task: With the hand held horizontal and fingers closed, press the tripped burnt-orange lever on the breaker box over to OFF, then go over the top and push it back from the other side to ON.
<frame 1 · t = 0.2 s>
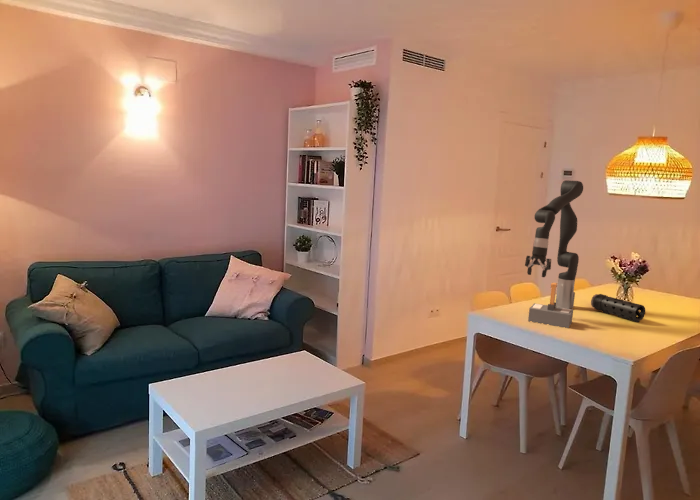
hand: (536, 275, 284), 22 cm above the table, tool pointing down, fingers open, 8 cm apart
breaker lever: (552, 295, 274), point 14 cm above the table, hinge at 0.0°
muzzle brake: (615, 316, 295), on the table
breaker housing: (550, 321, 276), on the table
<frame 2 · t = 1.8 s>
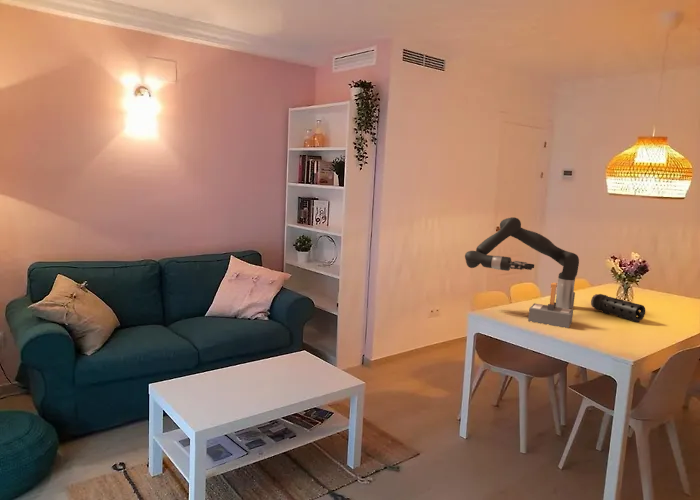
hand: (532, 267, 277), 28 cm above the table, tool horizontal, fingers open, 5 cm apart
nothing on the table moved.
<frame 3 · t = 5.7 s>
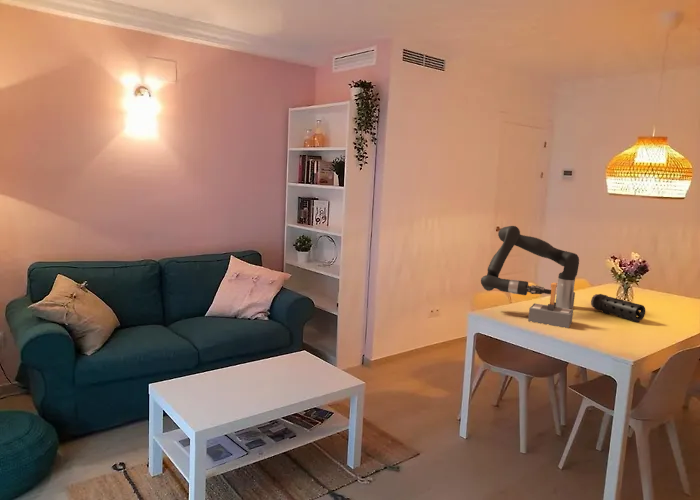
hand: (551, 292, 274), 16 cm above the table, tool horizontal, fingers closed
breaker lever: (552, 295, 274), point 14 cm above the table, hinge at 0.0°, touching gripper
everything else where it was.
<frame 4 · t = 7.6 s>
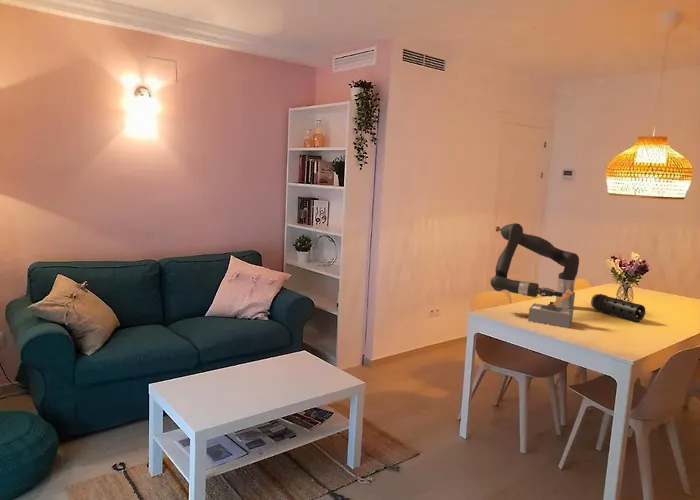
hand: (562, 294, 271), 15 cm above the table, tool horizontal, fingers closed
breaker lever: (560, 299, 272), point 13 cm above the table, hinge at 41.2°, touching gripper
everything else where it was.
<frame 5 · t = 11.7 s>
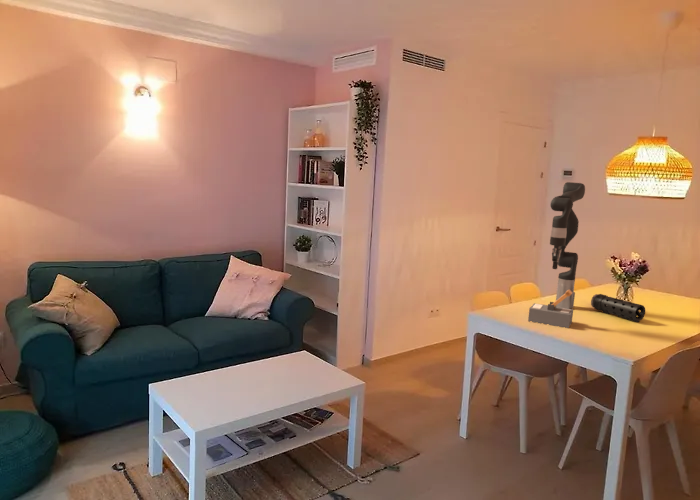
hand: (554, 268, 272), 29 cm above the table, tool pointing down, fingers closed
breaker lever: (560, 299, 272), point 13 cm above the table, hinge at 41.2°
everything else where it was.
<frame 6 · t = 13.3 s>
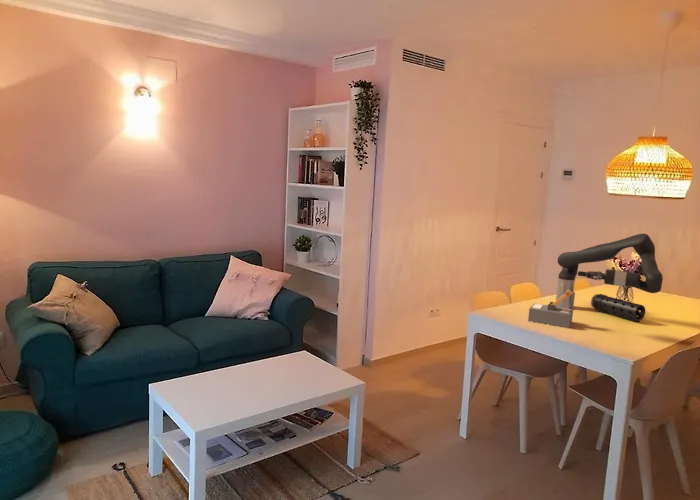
hand: (578, 273, 266), 28 cm above the table, tool horizontal, fingers closed
nothing on the table moved.
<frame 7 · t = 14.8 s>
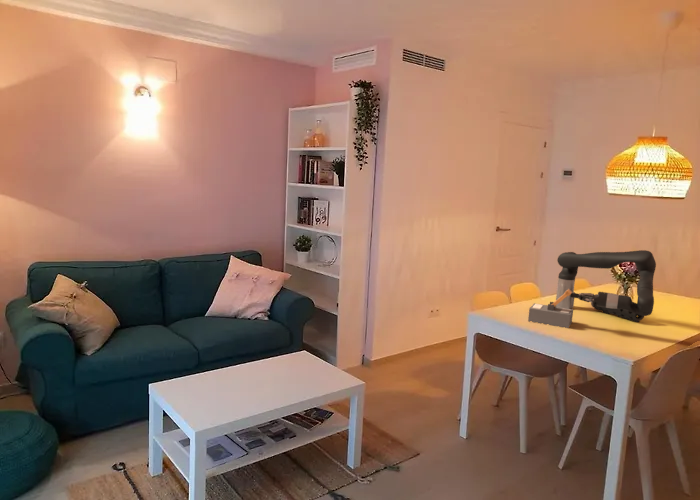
hand: (570, 294, 269), 16 cm above the table, tool horizontal, fingers closed
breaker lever: (560, 299, 272), point 13 cm above the table, hinge at 39.9°, touching gripper
everything else where it was.
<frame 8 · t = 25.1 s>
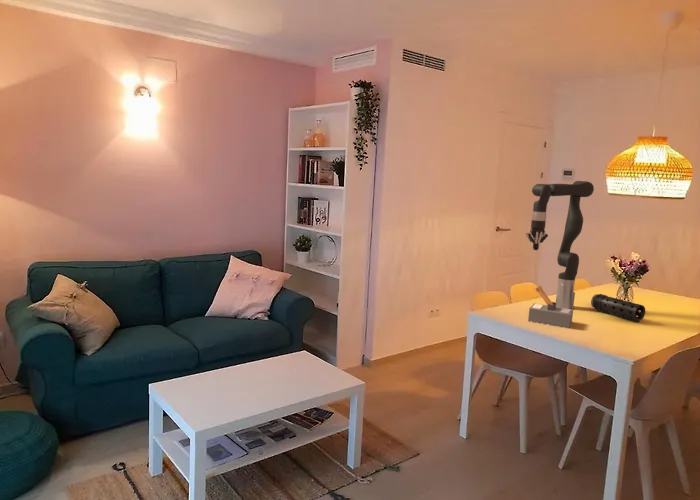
hand: (535, 250, 294), 35 cm above the table, tool pointing down, fingers closed
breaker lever: (545, 297, 276), point 13 cm above the table, hinge at -41.1°
everything else where it was.
at the end: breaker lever at -41° (first picture: +0°); muzzle brake moved 0.4 cm from its start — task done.
